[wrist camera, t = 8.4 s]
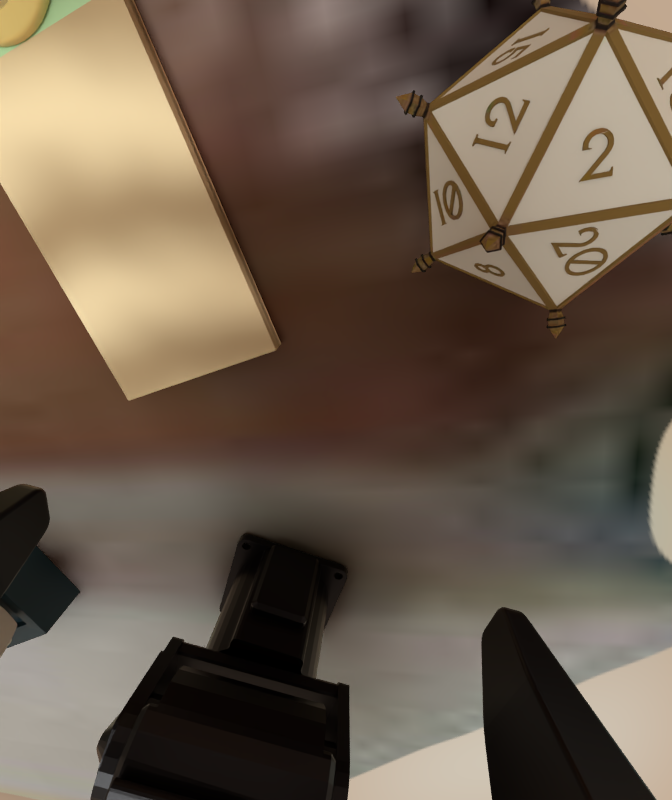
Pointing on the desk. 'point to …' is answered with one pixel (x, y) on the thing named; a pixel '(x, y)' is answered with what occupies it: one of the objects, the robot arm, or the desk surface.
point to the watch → (33, 601)
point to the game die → (551, 155)
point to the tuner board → (124, 199)
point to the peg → (20, 19)
